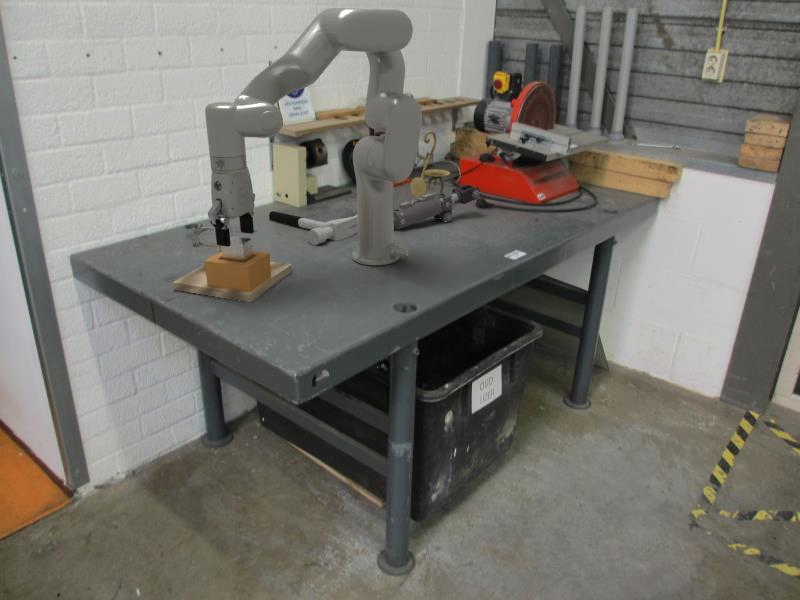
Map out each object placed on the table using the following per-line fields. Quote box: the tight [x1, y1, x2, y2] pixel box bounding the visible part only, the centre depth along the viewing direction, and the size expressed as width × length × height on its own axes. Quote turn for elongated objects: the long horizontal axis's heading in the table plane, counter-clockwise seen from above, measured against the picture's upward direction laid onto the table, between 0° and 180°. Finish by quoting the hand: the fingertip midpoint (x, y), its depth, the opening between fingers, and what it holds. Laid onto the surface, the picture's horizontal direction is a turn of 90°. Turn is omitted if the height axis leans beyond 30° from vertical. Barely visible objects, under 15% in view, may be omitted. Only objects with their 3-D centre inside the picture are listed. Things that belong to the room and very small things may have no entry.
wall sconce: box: [410, 130, 451, 198], centre depth 213 cm, size 14×10×25 cm
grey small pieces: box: [191, 223, 258, 247], centre depth 180 cm, size 20×1×6 cm, turn 136°
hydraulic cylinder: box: [394, 183, 481, 230], centre depth 196 cm, size 7×37×10 cm, turn 124°
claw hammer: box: [268, 210, 357, 246], centre depth 191 cm, size 5×22×30 cm
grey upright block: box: [221, 236, 254, 263], centre depth 144 cm, size 6×4×10 cm
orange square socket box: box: [172, 218, 293, 303], centre depth 150 cm, size 21×21×14 cm
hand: (235, 239), depth 142 cm, fingers open, 9 cm apart
